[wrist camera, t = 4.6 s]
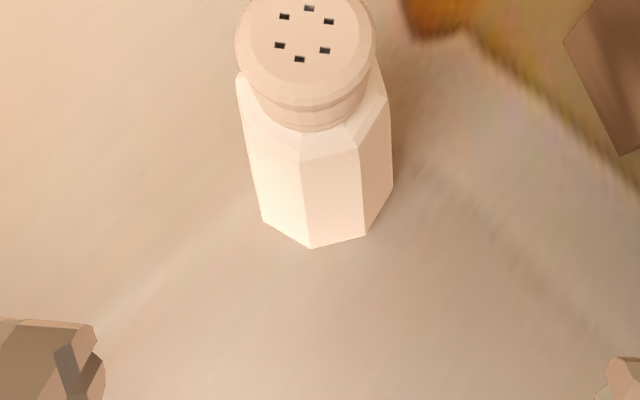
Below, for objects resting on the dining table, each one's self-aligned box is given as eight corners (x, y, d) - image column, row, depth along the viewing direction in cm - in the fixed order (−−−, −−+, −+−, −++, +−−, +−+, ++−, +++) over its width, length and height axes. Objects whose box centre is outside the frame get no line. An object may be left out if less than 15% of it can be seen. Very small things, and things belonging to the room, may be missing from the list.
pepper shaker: (263, 103, 23) (194, -102, 12) (401, 121, 22) (458, -73, 12) (238, 239, 21) (137, 147, 11) (384, 260, 21) (430, 187, 10)
